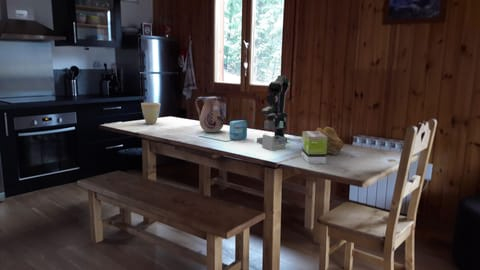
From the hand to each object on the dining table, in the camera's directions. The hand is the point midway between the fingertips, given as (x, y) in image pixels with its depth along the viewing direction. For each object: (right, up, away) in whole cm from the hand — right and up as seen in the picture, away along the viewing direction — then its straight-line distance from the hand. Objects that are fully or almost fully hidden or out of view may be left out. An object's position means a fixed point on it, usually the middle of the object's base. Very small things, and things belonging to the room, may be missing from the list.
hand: (273, 126), depth 244 cm
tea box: (+18, -19, -36) cm, 45 cm away
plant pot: (-92, +4, +62) cm, 111 cm away
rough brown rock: (+30, -16, -19) cm, 40 cm away
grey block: (0, -13, -11) cm, 17 cm away
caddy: (0, -1, 0) cm, 1 cm away
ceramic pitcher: (-44, -3, +35) cm, 56 cm away
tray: (-1, -10, +4) cm, 11 cm away
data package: (-23, -8, +13) cm, 27 cm away
